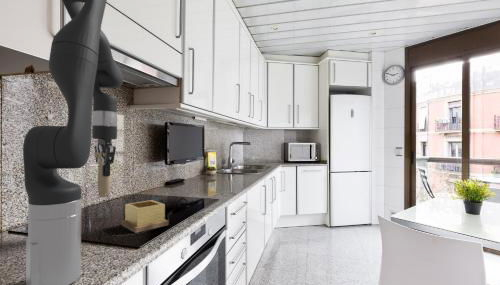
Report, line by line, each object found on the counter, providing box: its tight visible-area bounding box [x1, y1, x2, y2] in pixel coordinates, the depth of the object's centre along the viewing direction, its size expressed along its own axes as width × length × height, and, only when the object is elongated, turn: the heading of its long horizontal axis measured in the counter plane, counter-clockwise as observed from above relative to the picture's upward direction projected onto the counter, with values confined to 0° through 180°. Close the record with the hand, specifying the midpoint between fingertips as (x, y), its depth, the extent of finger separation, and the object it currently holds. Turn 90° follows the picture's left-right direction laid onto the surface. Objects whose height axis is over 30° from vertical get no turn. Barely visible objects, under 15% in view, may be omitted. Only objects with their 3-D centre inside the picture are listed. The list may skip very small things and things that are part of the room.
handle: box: [94, 152, 112, 198], centre depth 91 cm, size 5×6×15 cm
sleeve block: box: [120, 199, 169, 234], centre depth 96 cm, size 12×12×8 cm
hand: (104, 175), depth 91 cm, fingers closed on handle, 3 cm apart
